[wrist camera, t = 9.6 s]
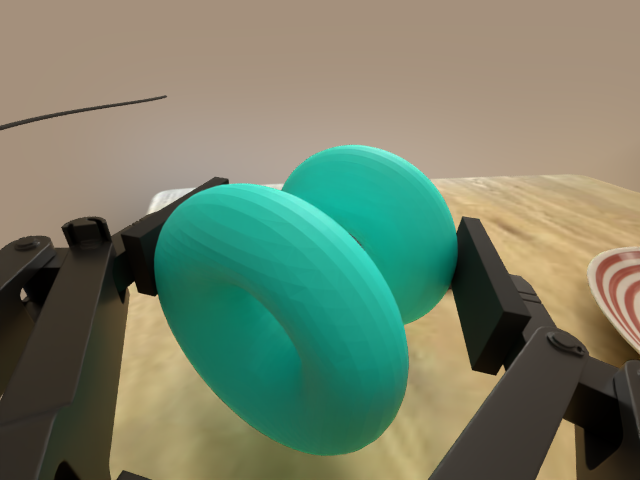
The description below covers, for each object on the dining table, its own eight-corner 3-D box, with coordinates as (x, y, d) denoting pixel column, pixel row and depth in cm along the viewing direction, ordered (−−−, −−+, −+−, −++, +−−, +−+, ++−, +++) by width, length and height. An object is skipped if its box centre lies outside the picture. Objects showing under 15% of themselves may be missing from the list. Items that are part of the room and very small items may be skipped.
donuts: (430, 334, 17) (497, 166, 12) (352, 527, 10) (438, 301, 5) (292, 270, 22) (298, 124, 16) (165, 370, 14) (103, 161, 9)
